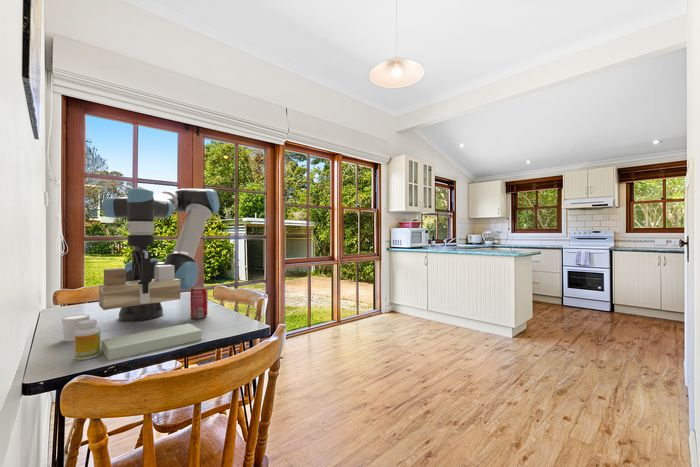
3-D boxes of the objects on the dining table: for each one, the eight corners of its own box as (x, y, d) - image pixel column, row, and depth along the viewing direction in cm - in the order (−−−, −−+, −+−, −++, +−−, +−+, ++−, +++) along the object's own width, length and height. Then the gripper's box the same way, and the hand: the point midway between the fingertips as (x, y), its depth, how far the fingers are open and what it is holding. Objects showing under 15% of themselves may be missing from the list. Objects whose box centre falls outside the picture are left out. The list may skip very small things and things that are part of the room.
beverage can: (201, 314, 134) (201, 286, 134) (210, 316, 131) (210, 287, 131) (187, 318, 129) (187, 288, 129) (196, 320, 126) (196, 289, 126)
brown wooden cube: (103, 284, 104) (103, 269, 104) (122, 282, 108) (122, 267, 108) (106, 286, 101) (106, 270, 101) (125, 284, 104) (125, 269, 104)
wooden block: (99, 305, 104) (99, 284, 104) (172, 296, 120) (172, 277, 120) (103, 310, 99) (103, 287, 99) (180, 299, 115) (180, 279, 115)
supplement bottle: (101, 356, 88) (101, 321, 88) (75, 362, 84) (75, 325, 85) (98, 351, 92) (98, 317, 92) (73, 356, 88) (73, 321, 88)
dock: (101, 350, 93) (101, 339, 93) (189, 332, 110) (189, 323, 110) (108, 360, 86) (108, 349, 86) (201, 339, 103) (201, 330, 103)
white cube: (154, 279, 115) (154, 265, 115) (169, 278, 118) (169, 264, 118) (158, 281, 111) (158, 266, 111) (174, 279, 115) (174, 265, 115)
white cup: (93, 337, 105) (93, 315, 105) (66, 343, 99) (66, 320, 99) (84, 333, 108) (84, 313, 108) (57, 339, 102) (58, 317, 102)
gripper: (121, 234, 114) (121, 298, 114) (135, 234, 99) (135, 308, 100) (145, 233, 119) (145, 295, 119) (162, 234, 105) (162, 304, 105)
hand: (141, 300), depth 109 cm, fingers closed on wooden block, 8 cm apart
